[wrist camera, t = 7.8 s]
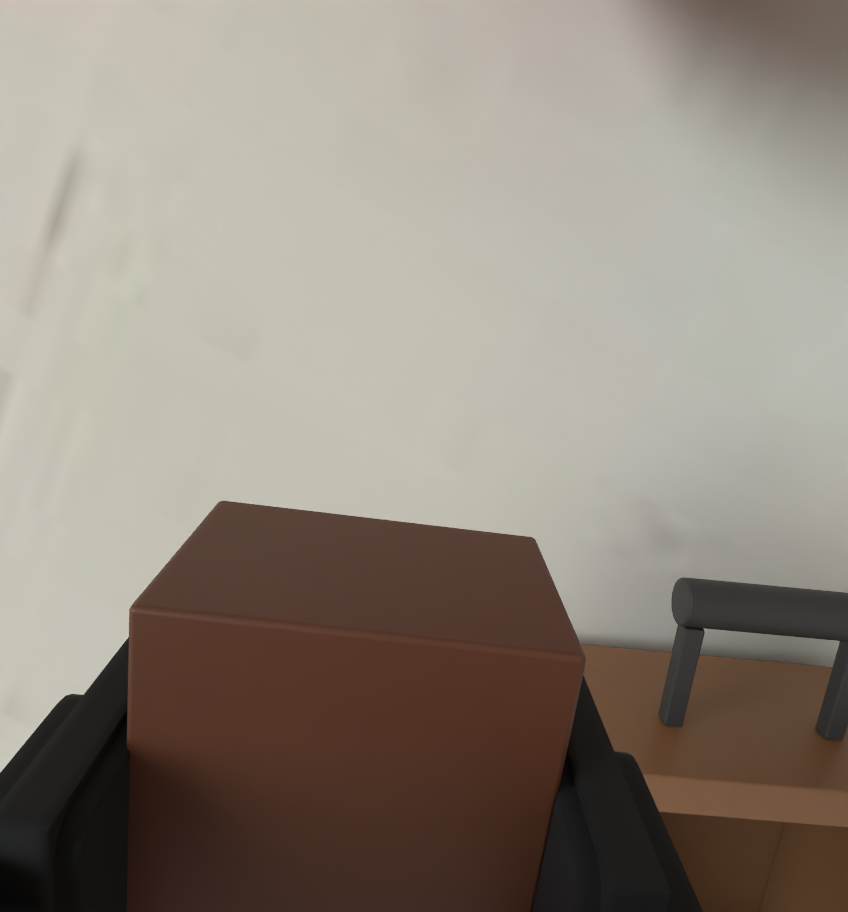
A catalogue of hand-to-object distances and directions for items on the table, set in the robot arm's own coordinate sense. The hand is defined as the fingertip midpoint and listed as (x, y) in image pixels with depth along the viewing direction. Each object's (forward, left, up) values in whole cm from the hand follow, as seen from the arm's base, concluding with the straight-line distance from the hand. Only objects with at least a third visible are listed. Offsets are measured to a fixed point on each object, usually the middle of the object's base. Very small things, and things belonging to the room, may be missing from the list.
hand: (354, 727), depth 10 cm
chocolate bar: (0, 0, 0) cm, 0 cm away
